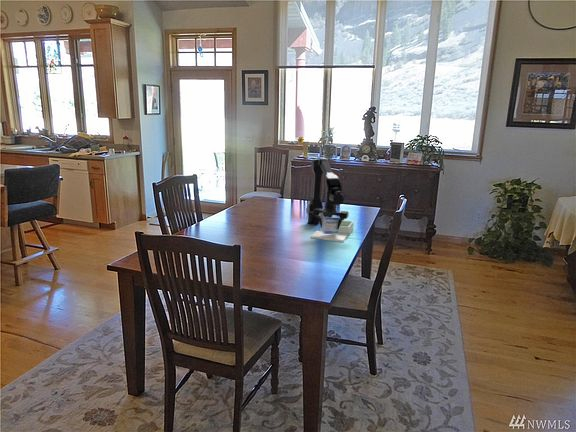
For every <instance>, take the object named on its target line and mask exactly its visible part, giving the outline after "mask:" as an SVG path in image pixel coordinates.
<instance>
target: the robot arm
mask: <svg viewBox="0 0 576 432" xmlns="http://www.w3.org/2000/svg"><path fill="white" fill-rule="evenodd" d="M310 167H311V172H312V173H313V176H312V177H313V179H312V180H313V181H312V195H311V197H310V199H309V200H308V204H307V207H306V208H305V209H306V214H307V223H306V224H309V225H318V224H319V226H320V228H321V229H322V217H332V216H336V217H338V218H339V219H338V220H339V221H338V227H337V230H338V229H339V227H340V225H341V222H342V221H343V220H346V219H348V218H349V211H345V210H341V211H339V212H338V210H337V206H341V204H343V203H344V201H345V199H344V196H343V195H342V194H341V192H342V190H343V187H342V183H341V180H340V178H339V176H338V175H337V174H335V173H334V172H333V170H332V167H331V165H330V163H329V159H328V158H327V157H326V158H325V157H324V158H323V157H321V158H313V159H312V160H311V161H310ZM322 175H324V181H323V182H324V183H323V184H324V188H325V192H326V193H325V194H326V196H325V205H324V206H323V201H322V200H321V186H322V177H323V176H322Z"/></svg>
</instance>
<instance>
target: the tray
mask: <svg viewBox="0 0 576 432" xmlns="http://www.w3.org/2000/svg"><path fill="white" fill-rule="evenodd" d="M348 237H349V236H348V235H347V234H339V233H331V234H324V233H323V232H322V230H316V231H314V232H313V234H311V235H310V238H311V239H317V240H326V241H331V242H338V243H339V242H342V243H344V242H345V241H346V239H347V238H348Z"/></svg>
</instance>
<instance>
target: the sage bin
mask: <svg viewBox="0 0 576 432" xmlns="http://www.w3.org/2000/svg"><path fill="white" fill-rule="evenodd" d="M338 221H339V219H338ZM354 224H355V222H354V221H353V220H346V219H344V220H343V221H342V222H341V225H340V227H339V229H338V233H339V234H347V235H348V237H349V236H350V235H351V234H352V232H353V230H354Z"/></svg>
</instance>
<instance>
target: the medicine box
mask: <svg viewBox="0 0 576 432" xmlns="http://www.w3.org/2000/svg"><path fill="white" fill-rule="evenodd" d="M339 218H340V217H339V216H335V215H332V217H324V216H323V217H322V228H321V231H322V232H323V233H324V234H331V233H338V230H337V227H338V220H339Z"/></svg>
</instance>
